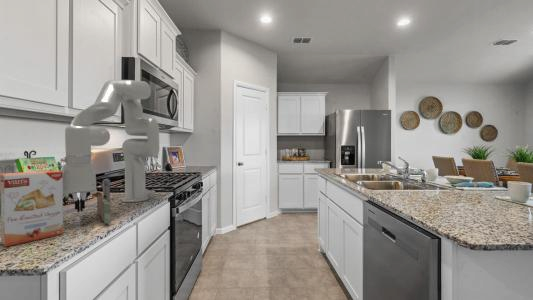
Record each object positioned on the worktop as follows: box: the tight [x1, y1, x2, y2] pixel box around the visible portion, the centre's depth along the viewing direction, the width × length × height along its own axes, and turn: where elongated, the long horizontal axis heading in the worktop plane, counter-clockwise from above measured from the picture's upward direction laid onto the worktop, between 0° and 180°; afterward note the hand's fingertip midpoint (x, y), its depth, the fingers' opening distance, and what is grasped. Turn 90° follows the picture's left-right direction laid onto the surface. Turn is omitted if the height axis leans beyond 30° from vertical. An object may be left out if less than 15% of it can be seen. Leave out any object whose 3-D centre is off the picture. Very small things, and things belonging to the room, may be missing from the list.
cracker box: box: [0, 169, 64, 247], centre depth 84 cm, size 14×6×21 cm, turn 143°
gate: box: [96, 193, 112, 225], centre depth 105 cm, size 21×2×7 cm, turn 39°
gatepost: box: [101, 178, 111, 203], centre depth 114 cm, size 3×3×14 cm
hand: (80, 210), depth 98 cm, fingers closed
